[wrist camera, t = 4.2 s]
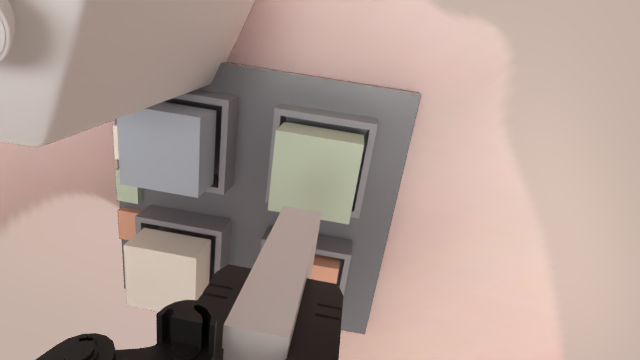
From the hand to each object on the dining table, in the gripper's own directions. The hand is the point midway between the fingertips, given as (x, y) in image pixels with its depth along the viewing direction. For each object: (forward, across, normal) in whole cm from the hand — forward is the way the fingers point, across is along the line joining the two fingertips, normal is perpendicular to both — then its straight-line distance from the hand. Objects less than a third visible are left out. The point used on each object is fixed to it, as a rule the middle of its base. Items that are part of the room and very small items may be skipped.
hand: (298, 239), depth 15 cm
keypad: (+12, -5, -4) cm, 14 cm away
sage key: (+9, 0, 0) cm, 9 cm away
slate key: (+9, -9, 0) cm, 13 cm away
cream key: (+9, -9, -9) cm, 16 cm away
